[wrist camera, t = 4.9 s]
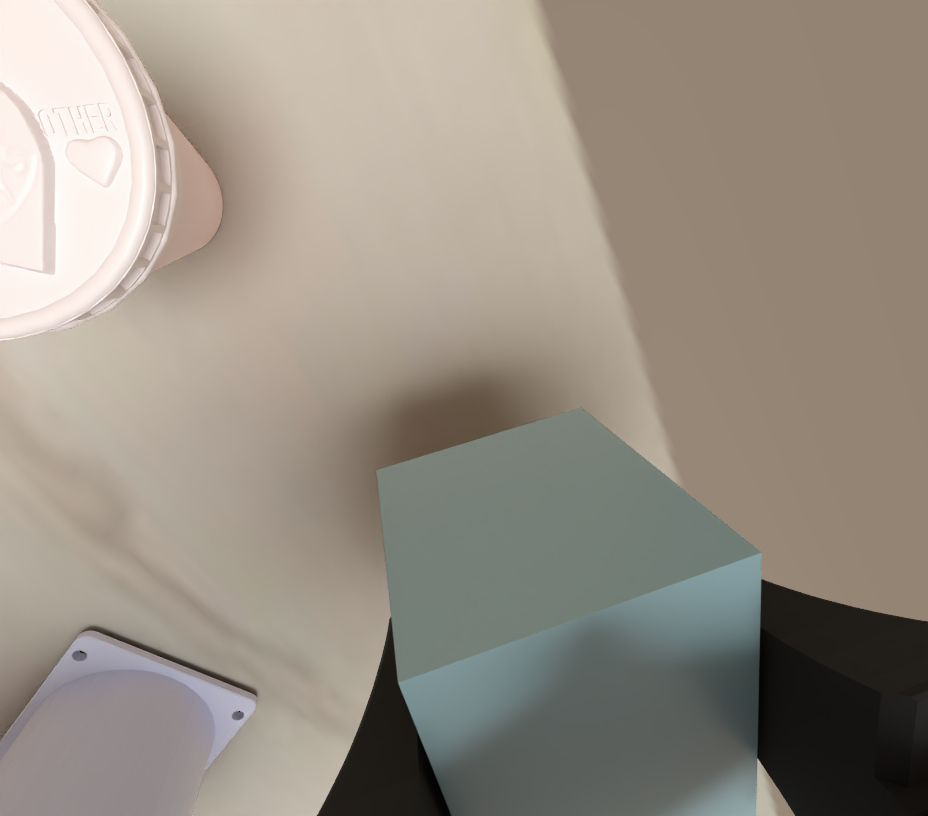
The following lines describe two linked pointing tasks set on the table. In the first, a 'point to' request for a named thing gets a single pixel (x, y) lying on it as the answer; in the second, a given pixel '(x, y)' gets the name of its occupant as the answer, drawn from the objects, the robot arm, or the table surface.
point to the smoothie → (86, 170)
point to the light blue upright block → (572, 628)
